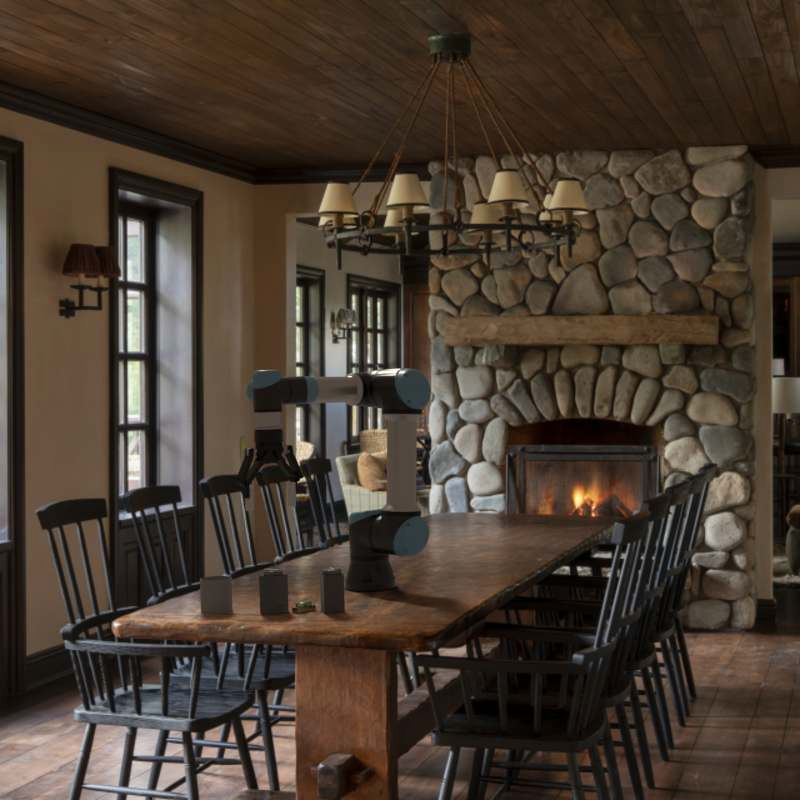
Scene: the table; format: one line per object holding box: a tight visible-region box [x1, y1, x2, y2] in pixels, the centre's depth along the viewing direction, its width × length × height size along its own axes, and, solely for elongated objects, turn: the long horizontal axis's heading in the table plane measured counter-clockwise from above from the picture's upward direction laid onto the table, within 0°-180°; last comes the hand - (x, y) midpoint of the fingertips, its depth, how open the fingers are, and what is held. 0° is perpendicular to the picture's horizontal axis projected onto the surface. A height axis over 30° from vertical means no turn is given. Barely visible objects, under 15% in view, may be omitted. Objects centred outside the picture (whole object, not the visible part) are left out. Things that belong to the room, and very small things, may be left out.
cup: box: [199, 575, 234, 615], centre depth 350 cm, size 8×8×10 cm
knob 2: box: [319, 567, 346, 615], centre depth 344 cm, size 5×5×11 cm
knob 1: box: [258, 568, 290, 616], centre depth 345 cm, size 5×5×11 cm
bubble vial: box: [291, 600, 317, 615], centre depth 345 cm, size 6×2×3 cm, turn 131°
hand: (271, 508), depth 344 cm, fingers open, 13 cm apart
